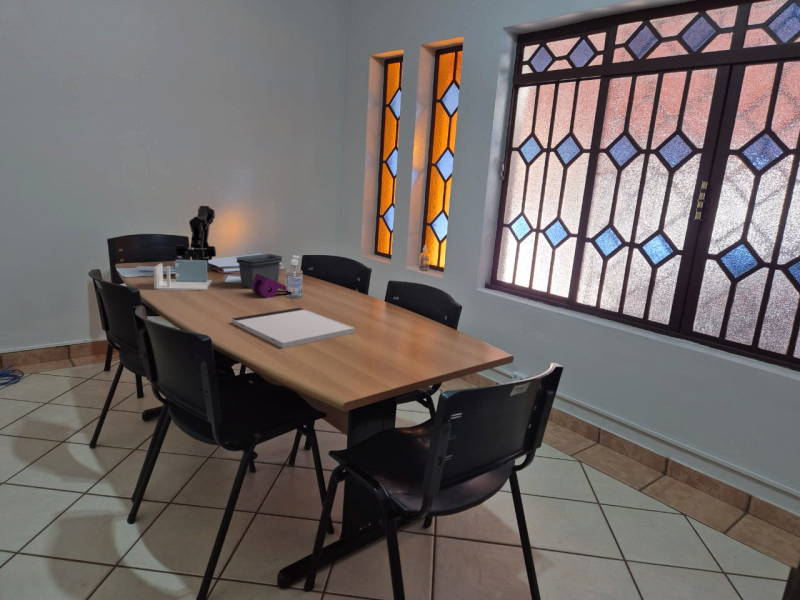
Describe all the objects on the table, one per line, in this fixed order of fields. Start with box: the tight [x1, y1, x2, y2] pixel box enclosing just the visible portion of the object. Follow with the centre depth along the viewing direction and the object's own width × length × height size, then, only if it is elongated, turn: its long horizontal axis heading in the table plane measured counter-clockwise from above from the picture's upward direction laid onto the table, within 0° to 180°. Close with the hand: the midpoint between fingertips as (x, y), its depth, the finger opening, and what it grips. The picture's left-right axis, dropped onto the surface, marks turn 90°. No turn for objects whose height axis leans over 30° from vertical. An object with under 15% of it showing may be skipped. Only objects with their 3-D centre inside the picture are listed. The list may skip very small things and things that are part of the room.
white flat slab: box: [230, 307, 356, 349], centre depth 199 cm, size 35×2×31 cm
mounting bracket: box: [251, 274, 287, 299], centre depth 247 cm, size 9×8×18 cm
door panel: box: [174, 259, 208, 282], centre depth 255 cm, size 4×14×10 cm, turn 101°
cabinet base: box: [152, 262, 213, 291], centre depth 251 cm, size 19×22×10 cm
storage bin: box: [235, 253, 284, 290], centre depth 262 cm, size 21×16×14 cm
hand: (194, 264), depth 263 cm, fingers closed
